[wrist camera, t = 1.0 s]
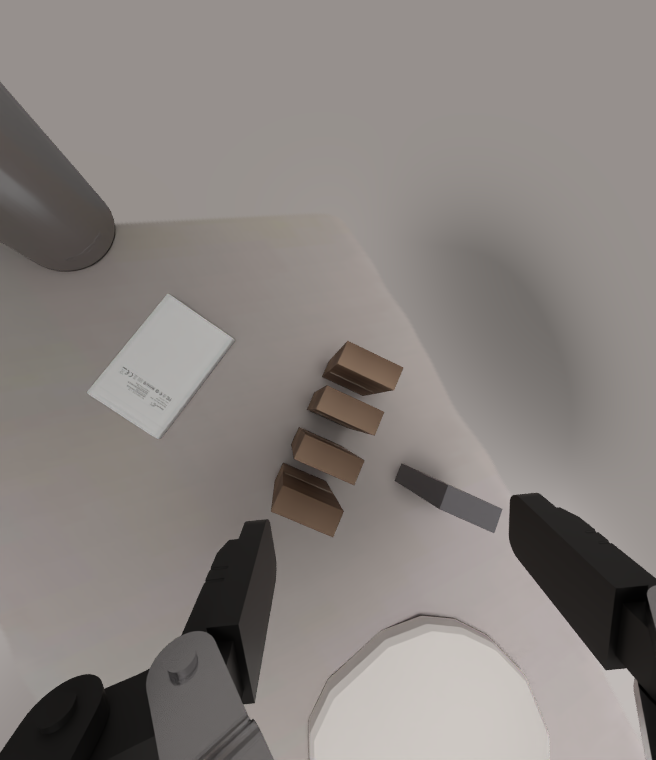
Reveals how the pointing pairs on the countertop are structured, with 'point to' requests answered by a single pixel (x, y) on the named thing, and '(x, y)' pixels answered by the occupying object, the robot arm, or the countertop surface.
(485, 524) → the domino
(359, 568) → the countertop surface
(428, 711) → the decorative plate
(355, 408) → the domino
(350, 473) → the domino
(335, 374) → the domino
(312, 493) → the domino
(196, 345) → the external hard drive
